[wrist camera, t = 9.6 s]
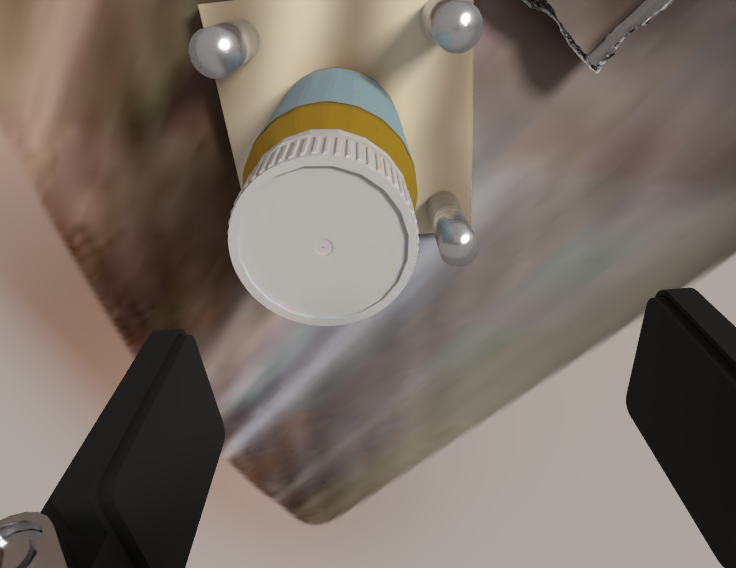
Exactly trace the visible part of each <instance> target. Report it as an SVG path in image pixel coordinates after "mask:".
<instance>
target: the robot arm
mask: <svg viewBox="0 0 736 568" xmlns="http://www.w3.org/2000/svg"><path fill="white" fill-rule="evenodd" d="M626 404H627V409H628V412H629V414H630V416H631V418H632V419H633V421H634V423H635V424H636V426H637V427H638V429H639V431H640V432H641V434H642V436H643V437H644V439H645V440H646V442H647V444H648V446H649V447H650V449H651V451H652V452H653V454H654V456H655V457H656V459H657V461H658V462H659V464H660V465H661V467H662V469H663V470H664V472H665V474H666V475H667V477H668V478H669V480H670V482H671V483H672V485H673V487H674V488H675V490H676V492H677V493H678V495H679V497H680V498H681V500H682V502H683V503H684V505H685V507H686V508H687V510H688V512H689V513H690V515H691V517H692V518H693V520H694V521H695V523H696V525H697V527H698V528H699V530H700V532H701V533H702V535H703V536H704V538H705V540H706V541H707V543H708V545H709V546H710V548H711V550H712V551H713V553H714V554H715V556H716V558H717V560H718V561H719V562H720V563H721V565H722V566H723V567H724V568H736V327H735V326H734V325H733V324H732V323H731V322H730V321H728V320H727V319H726V318H725V317H724V316H723V315H722V314H721V313H720V312H719V311H718V310H717V309H716V308H715V307H714V306H712V305H711V304H710V303H709V302H708V301H707V300H706V299H705V298H704V297H703V296H702V295H701V294H700V293H699V292H698V291H696V290H695V289H693V288H680V289H668V290H661V291H659V292H658V293H657V294H656V296H655V298H651V299H649V301H648V303H647V306H646V310H645V315H644V319H643V324H642V328H641V333H640V337H639V341H638V346H637V350H636V355H635V360H634V364H633V368H632V373H631V378H630V382H629V386H628V391H627V396H626ZM224 438H225V430H224V424H223V421H222V418H221V415H220V412H219V409H218V406H217V403H216V400H215V398H214V395H213V392H212V389H211V386H210V383H209V380H208V377H207V374H206V371H205V368H204V365H203V362H202V359H201V356H200V353H199V350H198V347H197V344H196V341H195V339H194V337H193V336H192V335H186V333H185V332H184V331H183V330H182V329H169V330H157V331H153V332H152V333H151V334H150V335H149V337H148V338H147V340H146V342H145V343H144V345H143V346H142V348H141V350H140V351H139V353H138V355H137V356H136V358H135V359H134V361H133V363H132V364H131V366H130V368H129V369H128V371H127V373H126V374H125V376H124V378H123V379H122V381H121V382H120V384H119V386H118V387H117V389H116V391H115V392H114V394H113V396H112V397H111V399H110V400H109V402H108V404H107V405H106V407H105V408H104V410H103V411H102V413H101V415H100V416H99V418H98V420H97V421H96V423H95V424H94V426H93V428H92V429H91V431H90V433H89V434H88V436H87V438H86V439H85V441H84V443H83V444H82V446H81V448H80V449H79V451H78V452H77V454H76V456H75V457H74V459H73V460H72V462H71V464H70V465H69V467H68V469H67V470H66V472H65V473H64V475H63V477H62V478H61V480H60V482H59V483H58V485H57V486H56V488H55V490H54V491H53V493H52V495H51V496H50V498H49V499H48V501H47V503H46V504H45V506H44V508H43V509H42V511H41V513H39V512H24V513H20V514H16V515H12V516H9V517H7V518H5V519H2V520H0V568H185V566H186V563H187V560H188V556H189V553H190V550H191V547H192V544H193V540H194V537H195V534H196V531H197V527H198V524H199V521H200V518H201V514H202V511H203V508H204V505H205V502H206V498H207V495H208V492H209V488H210V485H211V482H212V479H213V476H214V472H215V469H216V466H217V463H218V459H219V456H220V453H221V450H222V447H223V443H224Z"/></svg>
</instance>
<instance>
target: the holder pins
mask: <svg viewBox="0 0 736 568" xmlns="http://www.w3.org/2000/svg"><path fill="white" fill-rule="evenodd" d="M420 26H421V29H422V31H423V32H424V34H425V35H426V36H427V37H429V38H430V39H431V40H432V41H434V42H435V43H436V44H438V45H439V46H440V47H441V48H443V49H444V50H445V51H447V52H449V53H453V54H460V53H464V52H466V51H468V50H470V49H471V48H473V47H474V46H475V45H476V43H477V42H478V40H479V39H480V36H481V33H482V29H483V20H482V16H481V13H480V11H479V10H478V8H477V7H476V6H475V5H474V4H472V3H471V2H468V1H465V0H429V1H428V2H427V3H426V4H425V5H424V7H423V8H422V10H421V13H420ZM259 47H260V37H259V34H258V32H257V30H256V28H255V27H254V26H253V25H252V24H251V23H250V22H249V21H247V20H245V19H240V18H236V19H232V20H229V21H225V22H222V23H219V24H215V25H212V26H209V27H205V28H202V29H200V30H198V31H197V32H196V33H195V34H194V35H193V36H192V38H191V40H190V43H189V56H190V59H191V62H192V64H193V65H194V67H195V68H196V69H197V70H198V71H199V72H200V73H201V74H202V75H204V76H206V77H208V78H212V79H220V78H224V77H226V76H228V75H229V74H230V73H232V72H233V71H235V70H236V69H237V68H239V67H240V66H241V65H243V64H244V63H246V62H247V61H248V60H250V59H251V58H253V57H254V56H255V55H256V54H257V52H258V50H259ZM427 212H428V215H429V218H430V222H431V225H432V228H433V232H434V235H435V238H436V241H437V245H438V248H439V251H440V255H441V257H442V259H443V260H444V261H445V262H446V263H447V264H449V265H451V266H464V265H466V264H468V263H470V262H471V261H472V260H473V259H474V258H475V257H476V255H477V253H478V242H477V240H476V238H475V236H474V233H473V231H472V229H471V227H470V225H469V223H468V220H467V218H466V216H465V214H464V212H463V210H462V207H461V205H460V203H459V201H458V199H457V197H456V196H455V195H454V194H453V193H451V192H449V191H439V192H436V193H434V194H433V195H432V196H431V197H430V198H429V200H428V202H427Z"/></svg>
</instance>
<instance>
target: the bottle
mask: <svg viewBox="0 0 736 568" xmlns="http://www.w3.org/2000/svg"><path fill="white" fill-rule="evenodd" d="M417 196H418V191H417V182H416V173H415V168H414V164H413V161H412V157H411V154H410V151H409V148H408V144H407V141H406V138H405V135H404V131H403V128H402V125H401V122H400V118H399V115H398V112H397V110H396V108H395V106H394V104H393V102H392V100H391V98H390V96H389V95H388V93H387V92H386V91H385V90H384V89H383V88H382V87H381V86H380V85H379V84H378V82H376V81H375V80H374V79H373V78H371V77H369V76H367V75H365V74H363V73H361V72H360V71H357V70H354V69H348V68H342V67H331V68H325V69H319V70H316V71H313V72H312V73H310V74H308V75H306V76H305V77H303V78H301V79H300V80H298V81H297V82H296V83H295V84H294V85H293V86H292V87H291V88H290V90H289V91H288V92H287V93H286V94H285V95H284V97H283V98H282V100H281V101H280V103H279V105H278V106H277V108H276V109H275V111H274V112H273V114H272V115H271V117H270V119H269V120H268V122H267V123H266V125H265V126H264V128H263V129H262V131H261V133H260V134H259V136H258V137H257V139H256V141H255V142H254V144H253V146H252V149H251V151H250V154H249V156H248V159H247V161H246V164H245V166H244V170H243V180H242V189H241V191H240V193H239V195H238V197H237V198H236V200H235V202H234V207H233V208H232V210H231V213H230V214H231V217H230V219H229V221H228V224H229V228H228V230H227V233H228V246H229V253H230V257H231V261H232V264H233V267H234V269H235V271H236V273H237V275H238V277H239V279H240V280H241V282H242V283H243V285H244V286H245V288H246V289H247V290H248V291H249V292H250V294H251V295H252V296H253V297H254V298H255V299H256V300H258V301H259V302H260V303H261V304H262V305H264V306H265V307H267V308H268V309H269V310H271V311H273V312H274V313H276V314H278V315H280V316H282V317H285V318H287V319H290V320H293V321H296V322H299V323H303V324H308V325H316V326H337V325H344V324H349V323H353V322H357V321H360V320H363V319H365V318H367V317H370V316H372V315H374V314H375V313H377V312H379V311H380V310H382V309H383V308H385V307H386V306H387V305H388V304H390V303H391V302H392V301H393V300H394V299H395V298H396V297H397V296H398V295H399V294H400V292H401V291H402V290H403V288H404V287H405V286H406V284H407V282H408V280H409V279H410V276H411V274H412V272H413V269H414V266H415V262H416V260H417V253H418V250H419V247H418V243H419V236H418V233H419V231H418V226H417V220H416V216H415V208H416V203H417Z"/></svg>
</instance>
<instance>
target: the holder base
mask: <svg viewBox="0 0 736 568" xmlns="http://www.w3.org/2000/svg"><path fill="white" fill-rule="evenodd" d="M428 1H429V0H233V1H224V2H215V3H206V4H198V7H199V11H200V16H201V20H202V24H203V28H205V27H209V26H212V25H215V24H219V23H222V22H225V21H229V20H232V19H236V18H240V19H245V20H247V21H249V22H250V23H251V24H252V25H253V26H254V27H255V28H256V30H257V32H258V34H259V37H260V47H259V50H258V52H257V54H256V55H255V56H254V57H253V58H251V59H250V60H248V61H247V62H246V63H244V64H243V65H241V66H240V67H239V68H237V69H236V70H235V71H233V72H232V73H230V74H229V75H228V76H226V77H224V78H220V79H215V80H216V84H217V88H218V93H219V97H220V101H221V106H222V110H223V114H224V118H225V123H226V127H227V131H228V136H229V140H230V144H231V148H232V153H233V157H234V161H235V166H236V170H237V174H238V178H239V183H240V187H241V189H242V180H243V170H244V166H245V164H246V161H247V159H248V156H249V154H250V151H251V149H252V146H253V144H254V142H255V141H256V139H257V137H258V136H259V134H260V133H261V131H262V129H263V128H264V126H265V125H266V123H267V122H268V120H269V119H270V117H271V115H272V114H273V112H274V111H275V109H276V108H277V106H278V105H279V103H280V101H281V100H282V98H283V97H284V95H285V94H286V93H287V92H288V91H289V90H290V88H291V87H292V86H293V85H294V84H295V83H296V82H297V81H298V80H300V79H301V78H303V77H305V76H306V75H308V74H310V73H312V72H313V71H316V70H319V69H325V68H331V67H342V68H348V69H354V70H357V71H360V72H361V73H363V74H365V75H367V76H369V77H371V78H373V79H374V80H375V81H376V82H378V84H379V85H380V86H381V87H382V88H383V89H384V90H385V91H386V92H387V93H388V95H389V96H390V98H391V100H392V102H393V104H394V106H395V108H396V110H397V112H398V115H399V118H400V122H401V125H402V128H403V131H404V135H405V138H406V141H407V144H408V148H409V151H410V154H411V157H412V161H413V164H414V168H415V173H416V182H417V191H418V196H417V203H416V208H415V216H416V220H417V226H418V231H419V233H418V234H429V233H434V232H433V228H432V225H431V222H430V218H429V215H428V212H427V202H428V200H429V198H430V197H431V196H432V195H433V194H434V193H436V192H439V191H449V192H451V193H453V194H454V195H455V196H456V197H457V199H458V201H459V203H460V205H461V207H462V210H463V212H464V214H465V216H466V218H467V220H468V223H469V225H470V227H471V214H472V125H473V48H471V49H470V50H468V51H466V52H464V53H460V54H453V53H449V52H447V51H445V50H444V49H443V48H441V47H440V46H439V45H438V44H436V43H435V42H434V41H432V40H431V39H430V38H429V37H427V36H426V35H425V34H424V32H423V31H422V29H421V26H420V13H421V10H422V8H423V7H424V5H425V4H426V3H427V2H428ZM465 1H468V2H471V3H472V4H474V0H465Z"/></svg>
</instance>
